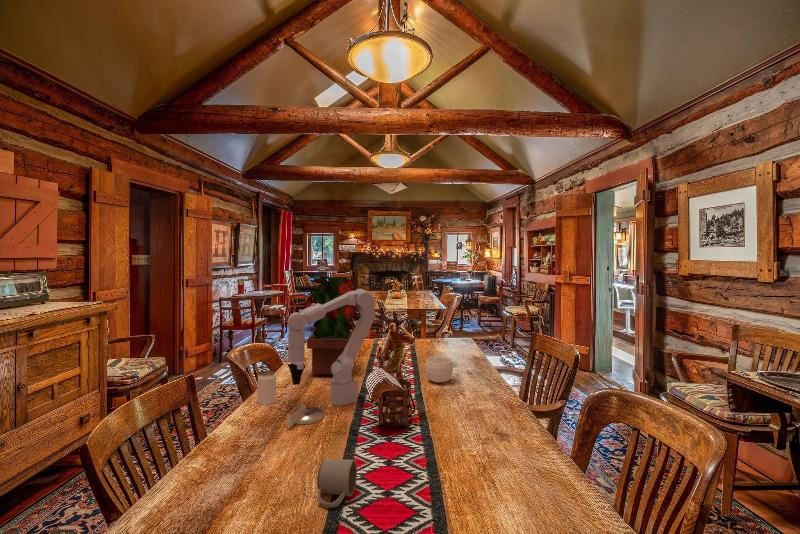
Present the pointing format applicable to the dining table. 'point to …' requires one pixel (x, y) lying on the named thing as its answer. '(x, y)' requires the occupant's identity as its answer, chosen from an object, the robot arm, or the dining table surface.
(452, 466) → the dining table surface
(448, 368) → the cup
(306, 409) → the dial
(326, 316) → the potted plant
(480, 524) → the dining table surface
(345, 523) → the dining table surface
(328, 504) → the ceramic mug
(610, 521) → the dining table surface
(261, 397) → the can
